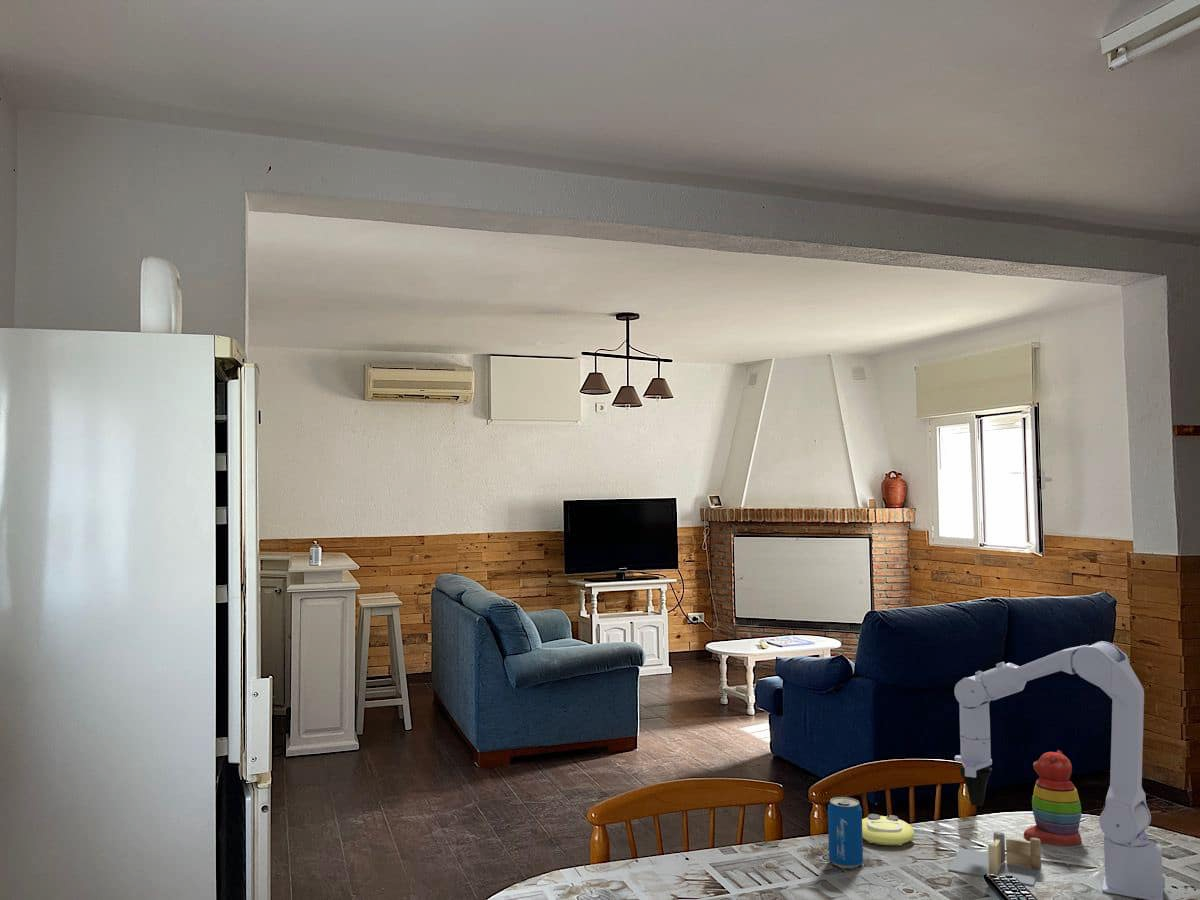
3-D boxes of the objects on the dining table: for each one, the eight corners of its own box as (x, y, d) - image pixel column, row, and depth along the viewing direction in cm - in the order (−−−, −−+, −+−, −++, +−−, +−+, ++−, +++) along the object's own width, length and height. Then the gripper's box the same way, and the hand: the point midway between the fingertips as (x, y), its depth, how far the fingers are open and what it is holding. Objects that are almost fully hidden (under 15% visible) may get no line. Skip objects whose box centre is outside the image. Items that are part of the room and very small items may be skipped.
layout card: (1041, 863, 186) (1041, 861, 186) (1033, 886, 175) (1033, 884, 175) (960, 849, 194) (960, 848, 194) (948, 870, 183) (948, 869, 183)
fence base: (1041, 867, 183) (1040, 838, 184) (1040, 870, 182) (1039, 841, 182) (1007, 861, 186) (1006, 833, 187) (1006, 864, 185) (1005, 836, 185)
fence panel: (995, 857, 188) (994, 831, 188) (1005, 859, 187) (1005, 832, 187) (987, 873, 180) (986, 846, 180) (998, 875, 179) (997, 847, 179)
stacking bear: (1041, 826, 208) (1038, 743, 209) (1090, 837, 200) (1087, 751, 201) (1020, 838, 200) (1017, 752, 201) (1070, 850, 193) (1067, 761, 194)
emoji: (917, 834, 194) (910, 811, 205) (856, 831, 196) (853, 808, 208) (918, 853, 194) (911, 829, 205) (857, 850, 196) (853, 826, 208)
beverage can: (825, 866, 185) (824, 803, 186) (833, 855, 191) (832, 794, 192) (858, 872, 182) (857, 808, 183) (866, 861, 188) (864, 799, 189)
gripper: (960, 727, 202) (962, 792, 201) (948, 742, 189) (949, 811, 189) (996, 730, 198) (998, 797, 198) (985, 746, 186) (988, 817, 185)
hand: (977, 804), depth 193 cm, fingers closed
